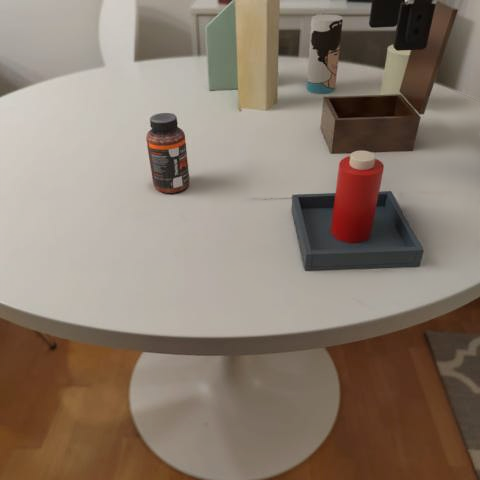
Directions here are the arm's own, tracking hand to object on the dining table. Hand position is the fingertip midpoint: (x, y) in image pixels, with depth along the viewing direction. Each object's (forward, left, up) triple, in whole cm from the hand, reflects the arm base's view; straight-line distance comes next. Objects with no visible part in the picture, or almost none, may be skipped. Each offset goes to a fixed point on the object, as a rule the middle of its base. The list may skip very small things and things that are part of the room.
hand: (394, 37), depth 49 cm
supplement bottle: (+28, -13, -24) cm, 39 cm away
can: (-19, -45, -24) cm, 55 cm away
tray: (+2, +3, -24) cm, 24 cm away
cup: (-4, -58, -24) cm, 63 cm away
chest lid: (-14, -27, -9) cm, 32 cm away
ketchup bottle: (+2, +3, -24) cm, 24 cm away
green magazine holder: (+15, -64, -24) cm, 70 cm away
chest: (-7, -27, -24) cm, 37 cm away
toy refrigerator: (+12, -48, -24) cm, 55 cm away
